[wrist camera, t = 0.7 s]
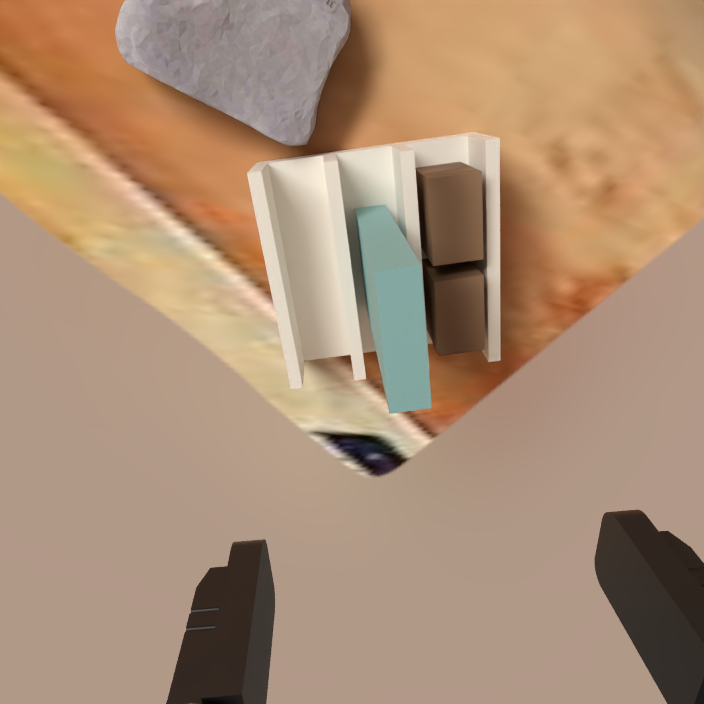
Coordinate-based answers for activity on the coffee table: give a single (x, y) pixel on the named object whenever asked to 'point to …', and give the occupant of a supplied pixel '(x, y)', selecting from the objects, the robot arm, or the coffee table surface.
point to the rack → (356, 238)
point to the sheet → (394, 309)
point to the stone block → (240, 55)
